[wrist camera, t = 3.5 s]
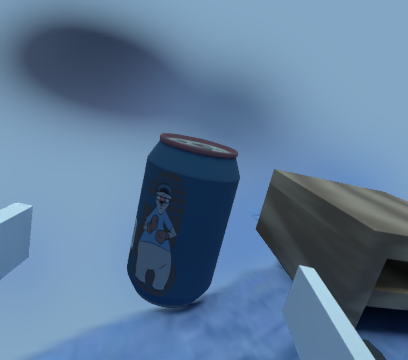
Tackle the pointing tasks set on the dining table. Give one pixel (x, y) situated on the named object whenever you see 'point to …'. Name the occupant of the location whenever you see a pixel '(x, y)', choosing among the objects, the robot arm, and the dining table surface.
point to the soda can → (181, 219)
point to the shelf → (340, 239)
